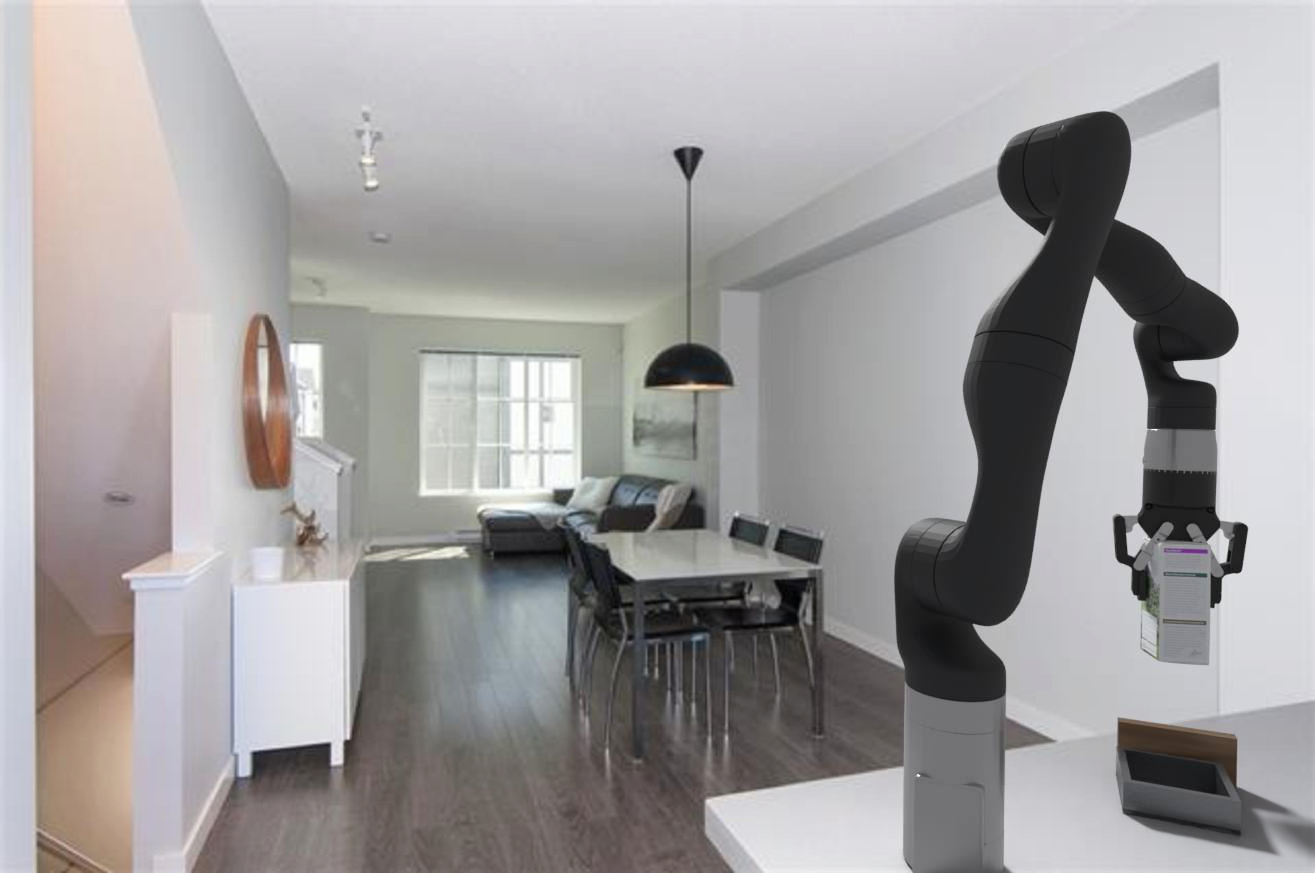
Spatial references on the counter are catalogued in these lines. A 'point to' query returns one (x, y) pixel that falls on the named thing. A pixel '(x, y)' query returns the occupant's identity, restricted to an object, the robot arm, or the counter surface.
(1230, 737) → the door edge slab
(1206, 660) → the syrup box
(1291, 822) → the counter surface
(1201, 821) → the keeper pocket
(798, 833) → the counter surface
